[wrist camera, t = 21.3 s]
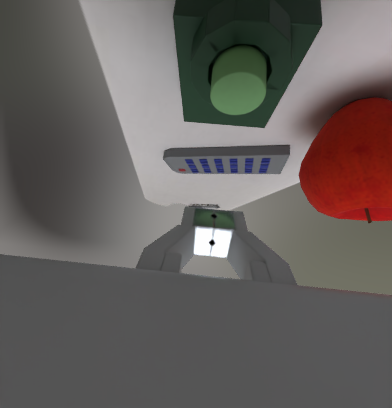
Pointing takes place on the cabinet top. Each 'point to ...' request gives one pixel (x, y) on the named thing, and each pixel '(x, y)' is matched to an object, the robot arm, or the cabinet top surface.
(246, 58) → the light green button cap
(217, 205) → the pen
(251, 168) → the remote control
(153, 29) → the cabinet top surface
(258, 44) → the button base
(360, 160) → the apple
